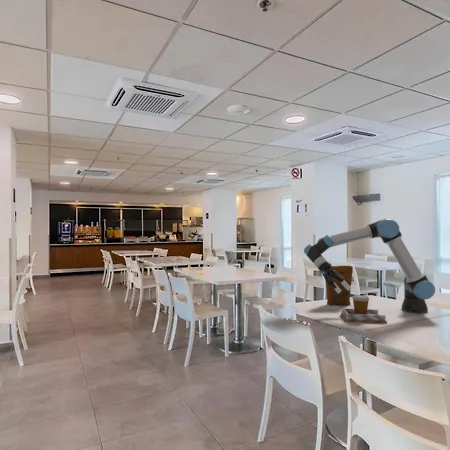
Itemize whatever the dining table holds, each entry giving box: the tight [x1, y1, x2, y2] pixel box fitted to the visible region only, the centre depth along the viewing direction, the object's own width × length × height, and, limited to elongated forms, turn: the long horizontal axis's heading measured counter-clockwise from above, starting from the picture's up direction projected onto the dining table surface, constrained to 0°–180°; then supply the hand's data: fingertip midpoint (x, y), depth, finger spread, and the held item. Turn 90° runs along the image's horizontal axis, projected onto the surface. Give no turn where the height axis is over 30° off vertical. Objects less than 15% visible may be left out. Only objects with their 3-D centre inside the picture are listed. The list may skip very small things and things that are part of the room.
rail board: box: [340, 307, 388, 324], centre depth 203 cm, size 22×17×4 cm
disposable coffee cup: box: [351, 294, 370, 314], centre depth 204 cm, size 10×10×12 cm
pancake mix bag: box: [325, 265, 354, 307], centre depth 242 cm, size 7×19×28 cm, turn 83°
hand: (344, 290), depth 211 cm, fingers open, 13 cm apart
